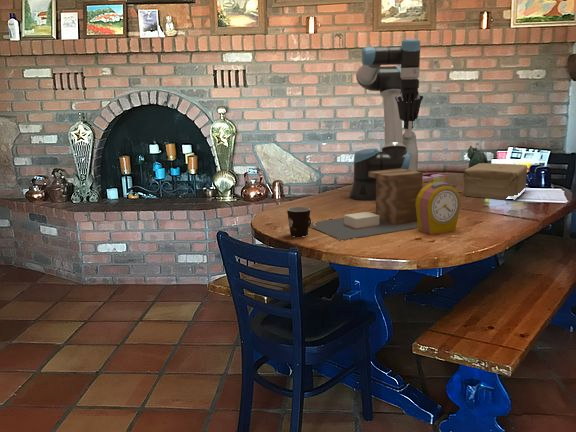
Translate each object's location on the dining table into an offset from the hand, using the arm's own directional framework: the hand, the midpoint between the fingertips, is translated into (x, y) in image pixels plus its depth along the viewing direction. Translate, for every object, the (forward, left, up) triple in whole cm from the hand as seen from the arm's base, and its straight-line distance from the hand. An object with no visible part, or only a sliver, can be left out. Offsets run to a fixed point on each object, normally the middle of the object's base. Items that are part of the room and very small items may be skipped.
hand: (408, 136), depth 237 cm
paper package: (-9, +62, -33) cm, 71 cm away
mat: (+10, -26, -32) cm, 43 cm away
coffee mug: (+11, -58, -33) cm, 67 cm away
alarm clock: (+30, -9, -33) cm, 45 cm away
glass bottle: (-62, +51, -33) cm, 87 cm away
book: (+10, -30, -28) cm, 42 cm away
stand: (+10, -14, -32) cm, 37 cm away
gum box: (-6, +15, -33) cm, 37 cm away
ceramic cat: (-47, +89, -33) cm, 106 cm away
